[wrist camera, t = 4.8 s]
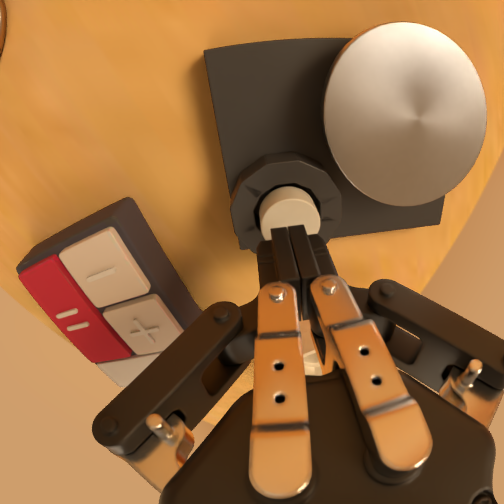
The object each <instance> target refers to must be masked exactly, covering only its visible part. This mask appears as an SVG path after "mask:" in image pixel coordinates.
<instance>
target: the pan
mask: <svg viewBox="0 0 504 504" xmlns="http://www.w3.org/2000/svg"><path fill="white" fill-rule="evenodd" d="M321 121H322V128H323V133H324V137H325V141H326V144H327V147H328V149H329V151H330V154H331V156H332V158H333V160H334V161H335V163H336V165H337V166H338V168H339V169H340V170H341V172H342V173H343V174H344V176H345V177H346V178H347V179H348V180H349V181H350V182H351V183H352V184H353V185H354V187H356V188H357V189H358V190H360V191H361V192H362V193H363V194H365V195H367V196H369V197H370V198H372V199H374V200H377V201H379V202H382V203H385V204H389V205H394V206H415V205H422V204H425V203H428V202H431V201H434V200H436V199H438V198H440V197H442V196H443V195H445V194H447V193H448V192H450V191H451V190H452V189H453V188H455V187H456V186H457V185H458V184H459V183H460V182H461V181H462V180H463V179H464V178H465V176H466V175H467V174H468V173H469V171H470V170H471V168H472V167H473V165H474V164H475V162H476V160H477V158H478V155H479V153H480V150H481V148H482V145H483V141H484V137H485V132H486V125H487V107H486V99H485V94H484V90H483V86H482V83H481V80H480V78H479V75H478V73H477V71H476V69H475V67H474V66H473V64H472V62H471V61H470V59H469V58H468V56H467V55H466V54H465V53H464V51H463V50H462V49H461V48H460V47H459V46H458V45H457V44H456V43H455V42H454V41H452V40H451V39H450V38H448V37H447V36H446V35H444V34H443V33H441V32H439V31H437V30H436V29H433V28H431V27H428V26H426V25H422V24H418V23H414V22H390V23H385V24H380V25H377V26H374V27H371V28H369V29H367V30H365V31H363V32H361V33H360V34H358V35H357V36H355V37H354V38H353V39H352V40H351V41H349V42H348V43H347V44H346V45H345V46H344V47H343V49H342V50H341V51H340V52H339V54H338V55H337V57H336V58H335V60H334V62H333V63H332V65H331V67H330V69H329V72H328V74H327V77H326V80H325V84H324V88H323V92H322V100H321Z"/></svg>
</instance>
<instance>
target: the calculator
mask: <svg viewBox="0 0 504 504" xmlns="http://www.w3.org/2000/svg"><path fill="white" fill-rule="evenodd" d="M16 270H17V272H18V274H19V276H18V277H19V279H20V281H21V282H22V283H23V285H24V286H25V287H26V289H27V290H28V291H29V293H30V294H31V295H32V296H33V298H34V299H35V300H36V302H37V303H38V304H39V305H40V307H41V308H42V309H43V310H44V311H45V313H46V314H47V315H48V316H49V317H50V319H51V320H52V321H53V322H54V323H55V324H56V325H57V327H58V328H59V329H60V330H61V331H62V332H63V333H64V334H65V336H66V337H67V338H68V339H69V340H70V341H71V342H72V343H73V344H74V345H75V346H76V347H77V348H78V349H79V350H80V352H81V353H82V354H83V355H84V356H85V357H86V358H87V359H89V360H90V361H91V362H93V363H95V364H96V365H97V366H98V367H99V368H100V369H101V370H102V371H103V372H104V373H105V374H106V375H107V376H108V377H109V378H110V379H111V380H112V381H114V382H115V383H116V384H117V385H118V386H120V387H127V386H128V385H129V384H130V383H131V382H132V381H133V380H134V379H135V378H136V377H137V376H138V375H139V374H140V373H141V372H142V371H143V370H144V369H145V368H146V367H147V366H148V365H149V364H150V363H152V362H153V361H154V360H155V359H156V358H157V357H158V356H159V355H160V354H161V353H162V352H163V351H164V350H165V349H166V348H167V347H168V346H169V345H170V344H171V343H172V342H173V341H174V340H175V339H176V338H177V337H178V336H179V335H180V334H181V333H182V332H183V331H184V330H185V329H186V328H187V327H189V326H190V325H191V324H192V323H193V322H194V321H195V320H196V319H197V318H198V317H199V316H200V315H201V314H202V313H203V311H201V310H200V309H199V307H198V306H197V304H196V303H195V301H194V300H193V298H192V297H191V295H190V293H189V292H188V290H187V289H186V287H185V286H184V284H183V282H182V281H181V279H180V278H179V276H178V274H177V273H176V271H175V269H174V268H173V266H172V265H171V263H170V261H169V260H168V258H167V256H166V255H165V253H164V251H163V250H162V248H161V246H160V245H159V243H158V241H157V239H156V238H155V236H154V234H153V233H152V231H151V229H150V227H149V226H148V224H147V222H146V220H145V219H144V217H143V215H142V213H141V212H140V210H139V208H138V206H137V204H136V203H135V201H134V200H133V199H132V198H130V197H126V198H124V199H122V200H120V201H118V202H115V203H113V204H111V205H109V206H107V207H105V208H103V209H101V210H100V211H98V212H96V213H94V214H92V215H90V216H88V217H86V218H84V219H82V220H80V221H78V222H77V223H75V224H73V225H71V226H69V227H67V228H66V229H64V230H62V231H60V232H58V233H57V234H55V235H53V236H51V237H50V238H48V239H46V240H45V241H43V242H41V243H39V244H38V245H36V246H35V247H33V248H32V249H31V251H30V252H29V253H28V254H27V255H26V256H25V257H24V258H23V260H22V261H21V262H20V263H19V264H18V266H17V267H16Z"/></svg>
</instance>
